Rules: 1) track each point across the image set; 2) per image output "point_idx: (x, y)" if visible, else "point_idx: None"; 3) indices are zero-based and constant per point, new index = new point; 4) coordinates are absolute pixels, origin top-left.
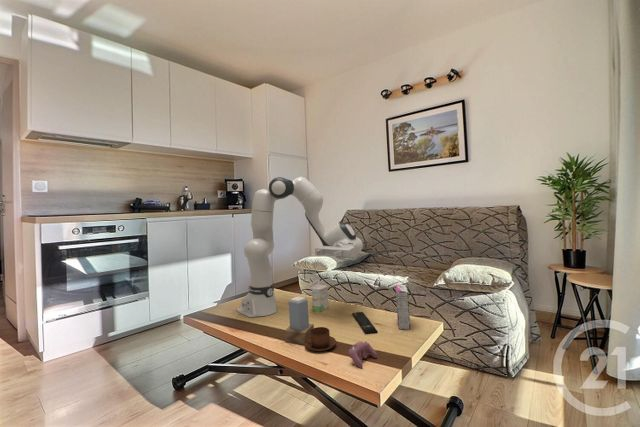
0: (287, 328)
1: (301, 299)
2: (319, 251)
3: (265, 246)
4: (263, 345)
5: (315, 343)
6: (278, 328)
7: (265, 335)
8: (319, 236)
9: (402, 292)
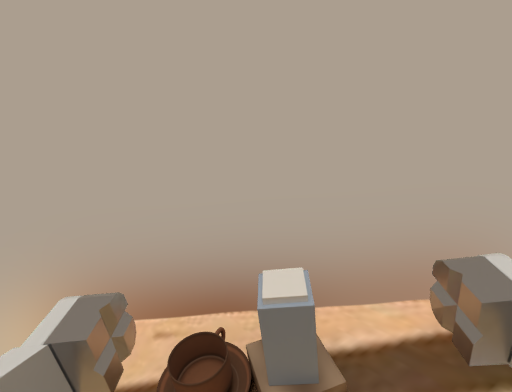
0: (316, 336)
1: (263, 282)
2: (462, 288)
3: None
4: (339, 310)
5: (203, 350)
6: None
7: (398, 342)
8: None
9: None
